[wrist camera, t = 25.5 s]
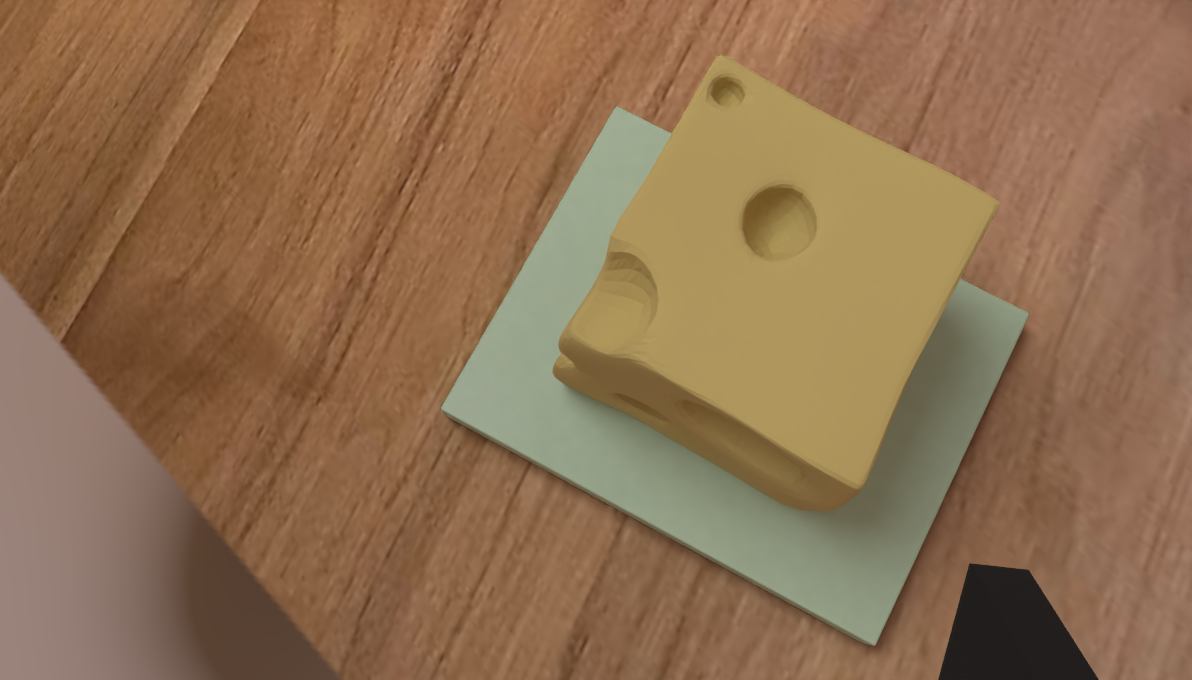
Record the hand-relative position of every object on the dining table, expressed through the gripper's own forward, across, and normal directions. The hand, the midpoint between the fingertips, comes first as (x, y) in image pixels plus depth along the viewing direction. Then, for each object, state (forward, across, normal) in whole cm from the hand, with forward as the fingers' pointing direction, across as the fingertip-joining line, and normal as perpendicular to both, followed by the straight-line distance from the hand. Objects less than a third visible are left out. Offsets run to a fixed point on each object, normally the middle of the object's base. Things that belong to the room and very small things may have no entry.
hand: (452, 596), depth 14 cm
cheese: (+27, +7, -5) cm, 29 cm away
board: (+28, +7, -7) cm, 30 cm away
